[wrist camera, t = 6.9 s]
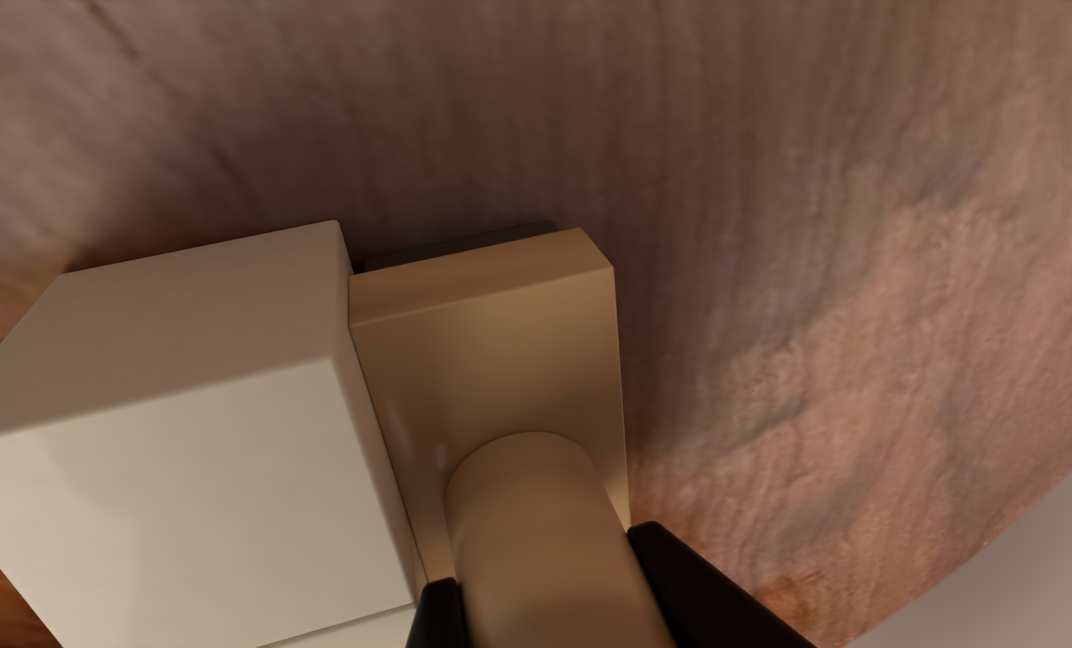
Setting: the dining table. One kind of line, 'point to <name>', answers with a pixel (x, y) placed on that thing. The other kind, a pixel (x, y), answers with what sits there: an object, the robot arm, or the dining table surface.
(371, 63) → the dining table surface
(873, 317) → the dining table surface
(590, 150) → the dining table surface
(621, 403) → the stamp
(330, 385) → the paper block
